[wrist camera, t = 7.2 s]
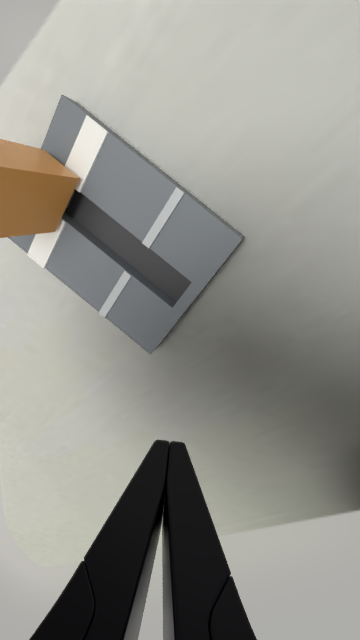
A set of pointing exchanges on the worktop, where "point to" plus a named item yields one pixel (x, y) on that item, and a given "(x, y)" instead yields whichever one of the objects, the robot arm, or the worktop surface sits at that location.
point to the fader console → (127, 231)
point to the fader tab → (32, 190)
